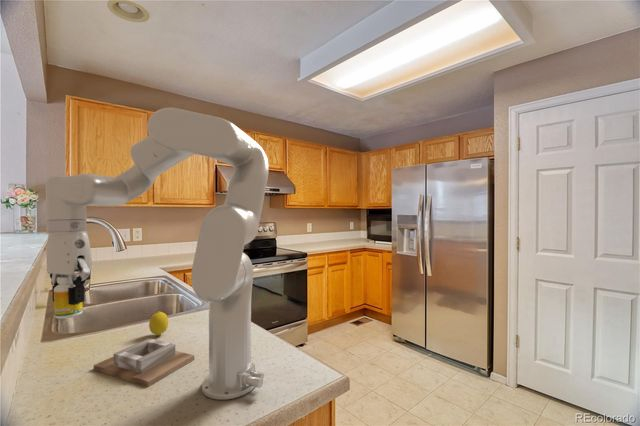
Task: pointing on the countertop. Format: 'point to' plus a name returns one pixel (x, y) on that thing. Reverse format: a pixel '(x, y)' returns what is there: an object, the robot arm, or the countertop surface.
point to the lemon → (158, 323)
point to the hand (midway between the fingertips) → (68, 300)
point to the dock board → (148, 374)
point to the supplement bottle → (65, 300)
